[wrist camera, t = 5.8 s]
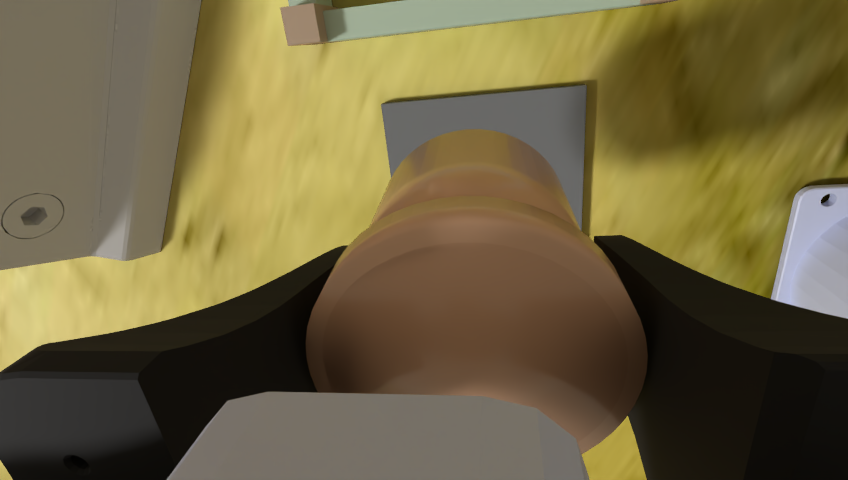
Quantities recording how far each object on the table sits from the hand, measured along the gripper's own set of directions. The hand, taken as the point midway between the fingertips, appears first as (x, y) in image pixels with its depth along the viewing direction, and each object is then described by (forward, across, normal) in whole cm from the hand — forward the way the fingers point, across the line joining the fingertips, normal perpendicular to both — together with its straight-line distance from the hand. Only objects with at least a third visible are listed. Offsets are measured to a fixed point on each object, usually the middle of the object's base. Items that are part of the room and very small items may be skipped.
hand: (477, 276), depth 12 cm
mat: (+9, 0, 0) cm, 9 cm away
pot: (+2, 0, -1) cm, 2 cm away
